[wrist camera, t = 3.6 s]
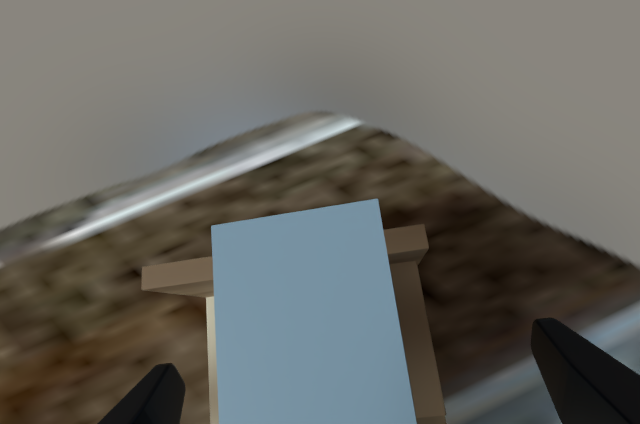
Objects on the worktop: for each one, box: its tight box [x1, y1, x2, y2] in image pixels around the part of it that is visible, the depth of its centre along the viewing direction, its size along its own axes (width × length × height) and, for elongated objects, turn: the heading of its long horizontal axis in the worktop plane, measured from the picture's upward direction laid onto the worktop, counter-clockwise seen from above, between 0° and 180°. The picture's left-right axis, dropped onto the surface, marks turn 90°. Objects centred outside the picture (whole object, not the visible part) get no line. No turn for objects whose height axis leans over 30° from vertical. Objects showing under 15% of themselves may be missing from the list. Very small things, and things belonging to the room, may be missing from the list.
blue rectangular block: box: [211, 199, 417, 424], centre depth 11 cm, size 5×2×12 cm, turn 7°
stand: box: [142, 224, 446, 424], centre depth 14 cm, size 12×10×6 cm
